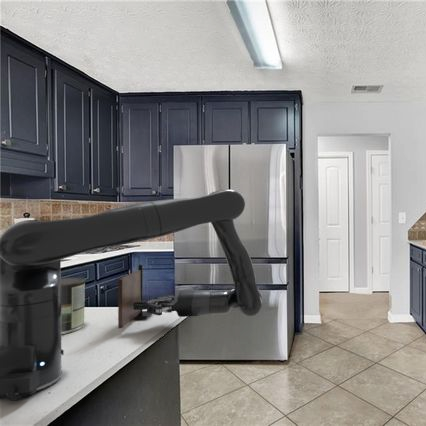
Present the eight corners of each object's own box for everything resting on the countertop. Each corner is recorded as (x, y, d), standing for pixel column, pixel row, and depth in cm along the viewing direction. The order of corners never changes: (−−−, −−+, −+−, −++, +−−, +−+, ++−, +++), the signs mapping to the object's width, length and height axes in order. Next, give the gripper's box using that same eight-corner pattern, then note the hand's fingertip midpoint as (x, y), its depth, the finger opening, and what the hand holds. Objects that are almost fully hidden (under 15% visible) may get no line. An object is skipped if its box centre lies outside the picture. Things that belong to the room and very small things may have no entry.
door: (122, 328, 85) (122, 279, 85) (117, 328, 85) (118, 279, 85) (141, 312, 98) (141, 270, 98) (137, 312, 98) (137, 270, 98)
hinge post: (146, 319, 97) (146, 266, 96) (125, 320, 95) (126, 266, 95) (152, 314, 101) (152, 263, 101) (132, 315, 100) (133, 263, 100)
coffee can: (49, 339, 81) (49, 287, 81) (32, 331, 86) (32, 282, 86) (92, 326, 91) (92, 279, 90) (75, 320, 95) (75, 275, 95)
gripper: (200, 285, 98) (143, 287, 95) (190, 297, 85) (124, 299, 82) (200, 308, 98) (143, 310, 95) (190, 323, 85) (123, 326, 82)
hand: (134, 305), depth 89 cm, fingers closed
